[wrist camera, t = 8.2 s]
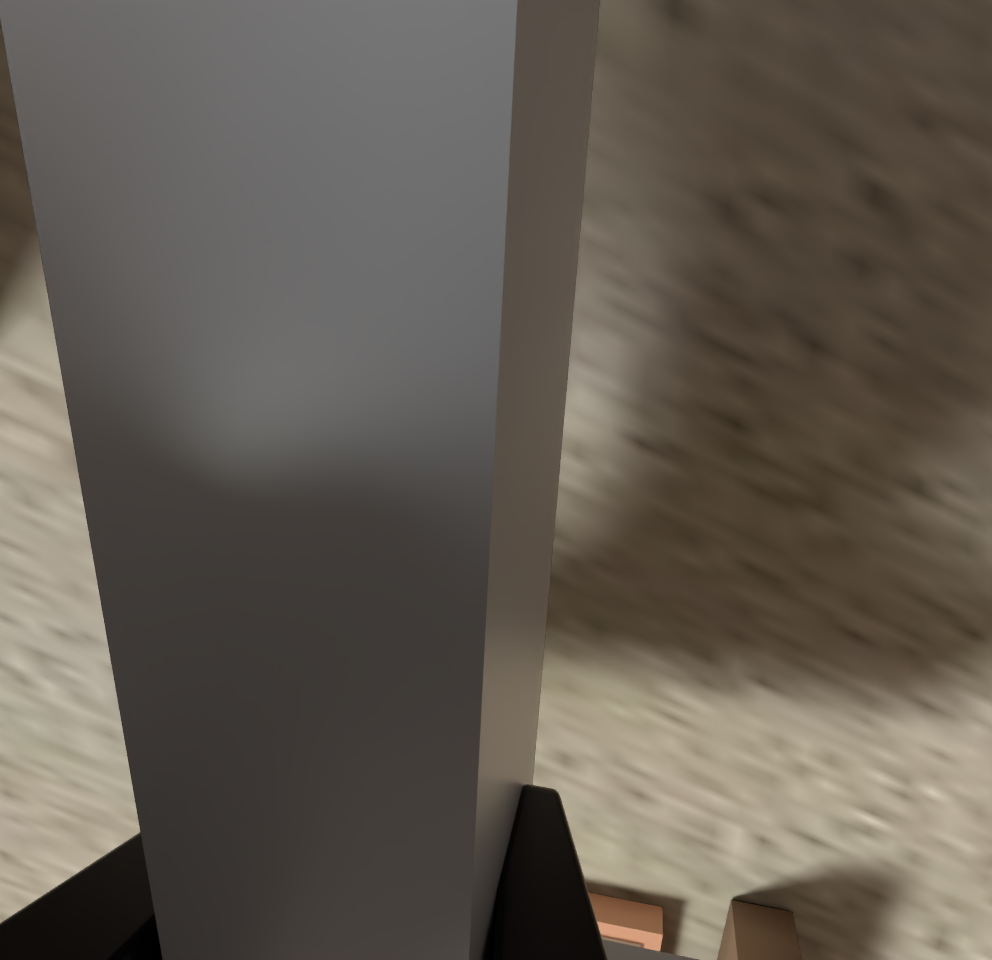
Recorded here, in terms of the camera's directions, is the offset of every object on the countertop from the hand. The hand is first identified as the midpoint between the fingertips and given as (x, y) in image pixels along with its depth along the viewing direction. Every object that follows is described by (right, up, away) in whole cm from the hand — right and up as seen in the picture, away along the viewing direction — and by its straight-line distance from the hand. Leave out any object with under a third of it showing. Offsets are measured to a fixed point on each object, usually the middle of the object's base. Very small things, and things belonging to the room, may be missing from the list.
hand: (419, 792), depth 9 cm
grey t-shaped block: (0, +3, 0) cm, 3 cm away
